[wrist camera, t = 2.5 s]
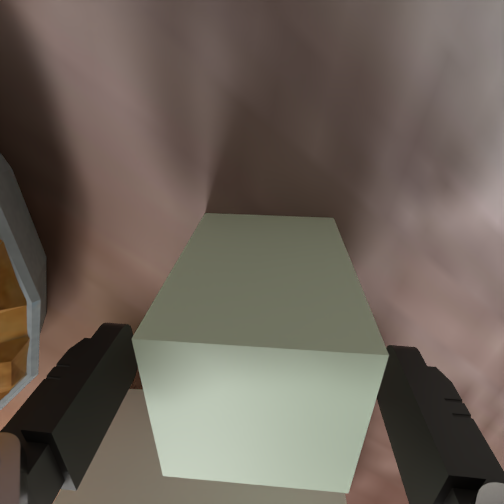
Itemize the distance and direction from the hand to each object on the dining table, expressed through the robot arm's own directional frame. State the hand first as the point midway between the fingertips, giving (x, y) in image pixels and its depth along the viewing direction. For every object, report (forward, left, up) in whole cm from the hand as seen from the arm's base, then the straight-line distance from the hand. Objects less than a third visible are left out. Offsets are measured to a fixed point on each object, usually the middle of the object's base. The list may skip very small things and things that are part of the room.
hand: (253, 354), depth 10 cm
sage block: (-1, 0, -4) cm, 4 cm away
